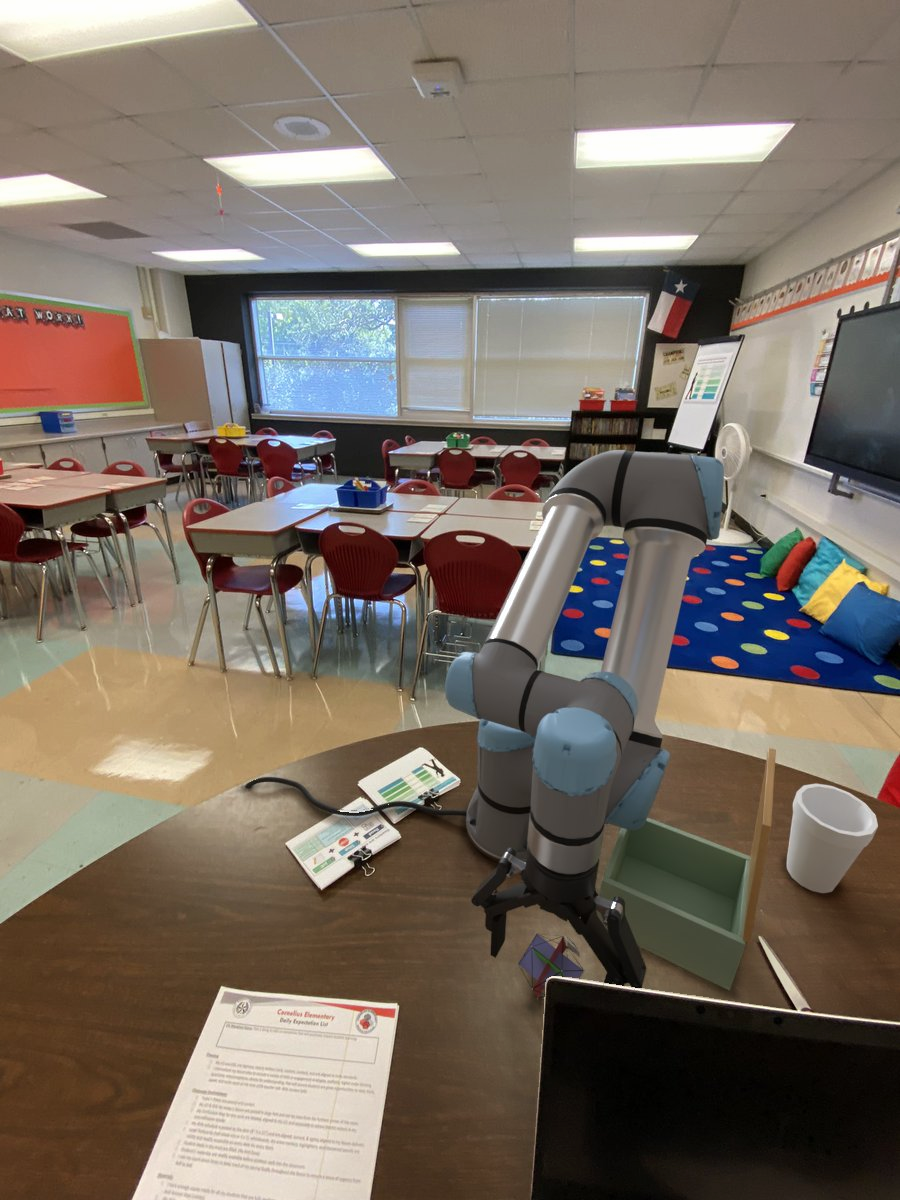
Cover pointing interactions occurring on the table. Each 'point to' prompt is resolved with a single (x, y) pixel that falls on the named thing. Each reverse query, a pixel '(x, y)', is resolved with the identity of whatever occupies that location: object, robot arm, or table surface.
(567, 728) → the robot arm
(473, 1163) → the table surface
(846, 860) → the foam cup
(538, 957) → the geometric puzzle
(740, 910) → the chest
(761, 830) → the lid
